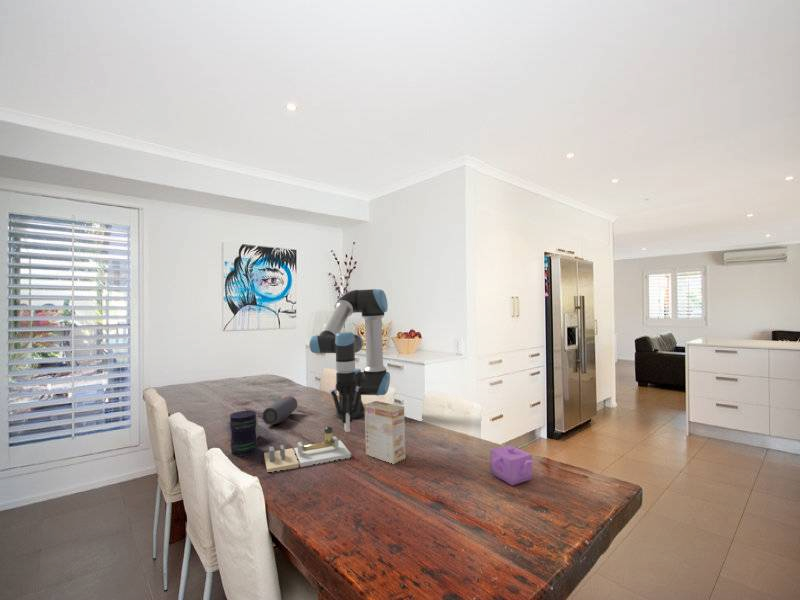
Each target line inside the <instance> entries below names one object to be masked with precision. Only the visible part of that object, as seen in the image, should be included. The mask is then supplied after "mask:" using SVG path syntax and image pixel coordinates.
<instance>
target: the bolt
mask: <svg viewBox="0 0 800 600" xmlns="http://www.w3.org/2000/svg"><path fill="white" fill-rule="evenodd" d="M333 432H334V430H333V428H332V427H331V426H327V427H325V428H324V442H319V443H318V442H317V443H313V444H306V445H303V451H309V450H315V449H321V448H326V447H332V446H335V441H333Z"/></svg>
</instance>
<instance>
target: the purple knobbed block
mask: <svg viewBox="0 0 800 600" xmlns="http://www.w3.org/2000/svg"><path fill="white" fill-rule="evenodd" d="M489 453H490V454H489V457H490V474H491V475H493V476H495V477H497V479H500V480H501V481H504V482H505V483H507V484H508V485H510V486H515V485H518V484H522V483H525V482H527V481H528V482H529V481H531V480H533V463H534V461H533V456H532V454H530V453H528V452H527V451H524V450H523V449H519V448H517V447H515V446H513V445H510V444H508V445H505V446H501V447H493V449H490V450H489Z"/></svg>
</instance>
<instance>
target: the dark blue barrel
mask: <svg viewBox="0 0 800 600" xmlns="http://www.w3.org/2000/svg"><path fill="white" fill-rule="evenodd" d="M256 414H257V412H256V411H255V410H241V411H236V412H233V413H230V415H229V418H230V419H229V425H230V427H229V429H230V432H231V433H230V436H231V438H230V450H231V451H230V454H231V455H232V456H236V457H241V456H243V455H244V456H248V455H251V454H254V453H256V451H257V450H258V438H257V436H256ZM253 452H254V453H253Z"/></svg>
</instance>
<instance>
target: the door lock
mask: <svg viewBox="0 0 800 600" xmlns="http://www.w3.org/2000/svg"><path fill="white" fill-rule="evenodd" d="M333 441H335V446H332V447H326V448H321V449H315V450H309V451H303V446H304V445H303V444H302V441H298V442H297V447H294V448H293V447H292V448H287V449H286V448H285V445H284V444H280V445H279V450H275V448H274V446H268V452H264V453H263V456H264V457H263V458H264V463H265V467H266V473H267V472H272V473H275V472H274V471H277V472H281V471H280V470H283V471H287V469H288V470H293V469H298V467H299V468H303V467H304V468H305V467H307V466H314V465H313V464H315V465H320V464H323V463H324V462H325V463H329V461H330V462H335V461H334V460H336V461H339V460H338V459H341V460H346V459H350V457H351V458H352V453H351V452H350V450H349V449H348V448H347V447H346V445H345V444H344V442H343V441H341V439H338V438H337V436H336V435H334V436H333ZM295 454H296V455H295ZM345 458H346V459H345ZM297 459H298V460H297ZM319 463H320V464H319Z"/></svg>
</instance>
